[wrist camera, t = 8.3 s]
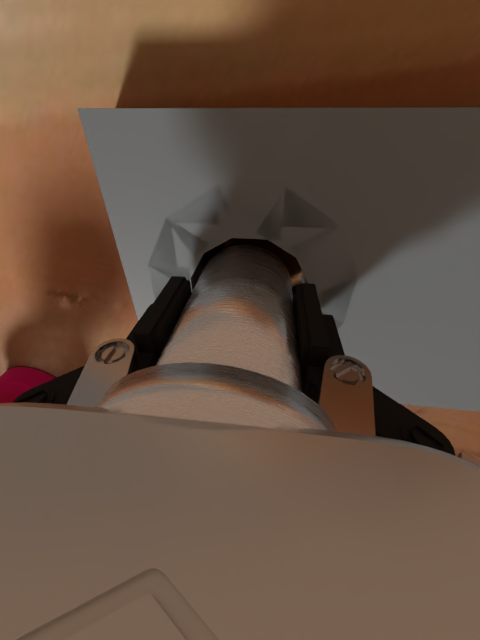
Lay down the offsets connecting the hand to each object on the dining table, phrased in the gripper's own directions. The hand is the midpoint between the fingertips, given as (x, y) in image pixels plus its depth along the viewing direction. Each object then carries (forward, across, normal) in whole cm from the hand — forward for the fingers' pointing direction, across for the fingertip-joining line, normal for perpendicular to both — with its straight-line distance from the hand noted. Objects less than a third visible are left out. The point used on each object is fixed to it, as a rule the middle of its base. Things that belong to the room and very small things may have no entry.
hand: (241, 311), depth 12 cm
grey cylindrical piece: (+2, 0, 0) cm, 2 cm away
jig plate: (+4, -5, 0) cm, 6 cm away
